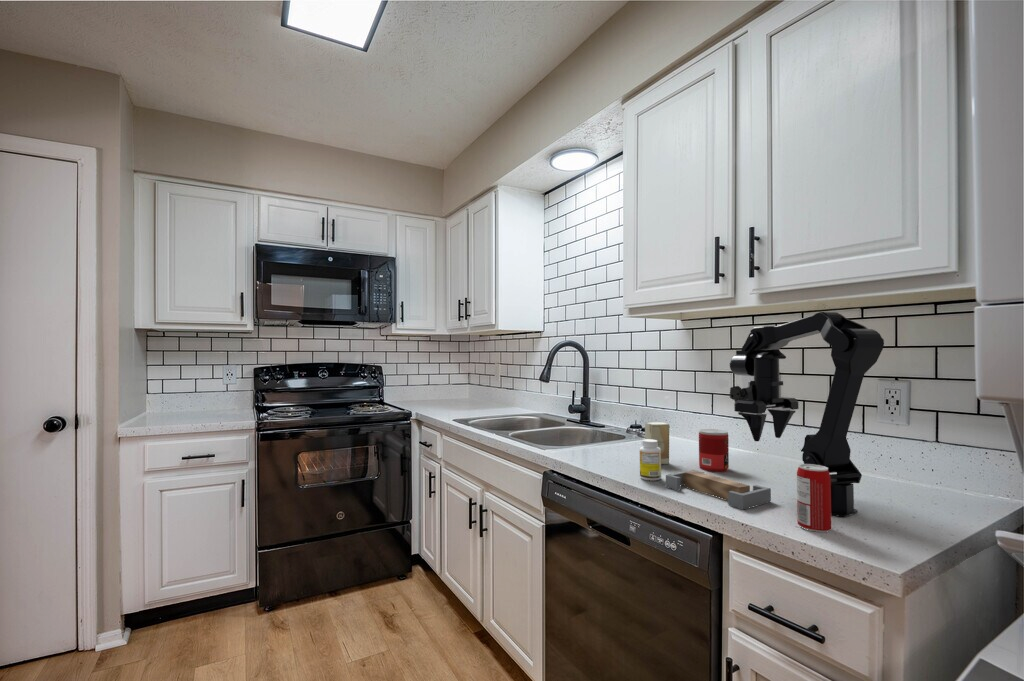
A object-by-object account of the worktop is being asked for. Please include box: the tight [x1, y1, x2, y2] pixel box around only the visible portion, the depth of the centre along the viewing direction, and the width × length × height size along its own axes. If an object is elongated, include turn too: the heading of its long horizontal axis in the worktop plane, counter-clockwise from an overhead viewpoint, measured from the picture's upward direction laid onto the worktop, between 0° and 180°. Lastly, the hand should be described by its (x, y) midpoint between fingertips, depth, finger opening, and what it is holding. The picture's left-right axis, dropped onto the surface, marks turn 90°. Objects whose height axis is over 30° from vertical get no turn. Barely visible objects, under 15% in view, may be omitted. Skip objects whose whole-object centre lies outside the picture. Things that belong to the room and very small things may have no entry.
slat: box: [683, 470, 751, 501], centre depth 118 cm, size 16×4×4 cm, turn 27°
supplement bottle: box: [639, 438, 662, 482], centre depth 132 cm, size 6×6×10 cm
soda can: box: [796, 463, 832, 533], centre depth 95 cm, size 6×6×12 cm
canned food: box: [698, 428, 730, 473], centre depth 143 cm, size 8×8×11 cm
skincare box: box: [644, 421, 670, 465], centre depth 151 cm, size 6×4×12 cm
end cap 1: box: [665, 469, 705, 491], centre depth 125 cm, size 4×10×3 cm, turn 122°
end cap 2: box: [727, 484, 772, 510], centre depth 110 cm, size 4×10×3 cm, turn 122°
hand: (767, 439), depth 123 cm, fingers open, 9 cm apart
